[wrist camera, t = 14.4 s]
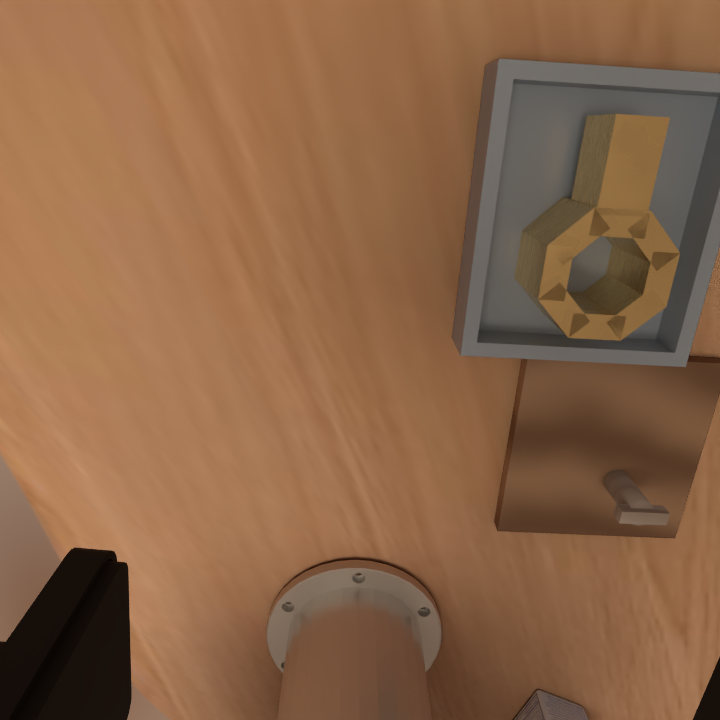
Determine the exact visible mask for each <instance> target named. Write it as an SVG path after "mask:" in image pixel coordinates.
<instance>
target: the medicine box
mask: <svg viewBox="0 0 720 720" xmlns="http://www.w3.org/2000/svg"><path fill="white" fill-rule="evenodd" d="M514 720H588V718H587V716H586V713H585V711H584V709H583V707H581V706H580V705H578V704H575V703H573V702H570V701H568V700H565V699H563V698H560V697H557V696H555V695H552V694H549V693H547V692H544V691H541V690H537V691H536V692H535V694H534V695H533V696H532V697H531V699H530V700H529V701H528V703H527V704H526V705H525V706H524V708H523V709H522V710H521V711H520V713H519V714H518V715H517V716H516V718H515V719H514Z"/></svg>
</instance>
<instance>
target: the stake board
mask: <svg viewBox="0 0 720 720" xmlns="http://www.w3.org/2000/svg"><path fill="white" fill-rule="evenodd" d="M719 394H720V358H713V357H694V356H689V357H688V361H687V364H686V367H675V366H656V365H636V364H616V363H597V362H577V361H557V360H538V359H522V362H521V368H520V373H519V379H518V385H517V391H516V397H515V403H514V409H513V415H512V420H511V426H510V432H509V438H508V444H507V450H506V456H505V462H504V467H503V473H502V479H501V485H500V491H499V497H498V503H497V509H496V514H495V520H494V522H495V525H496V528H497V531H509V532H533V533H558V534H582V535H606V536H630V537H654V538H675V537H676V534H677V530H678V527H679V524H680V521H681V517H682V514H683V511H684V508H685V505H686V501H687V498H688V495H689V492H690V488H691V485H692V482H693V479H694V475H695V472H696V469H697V466H698V462H699V459H700V456H701V453H702V449H703V446H704V443H705V440H706V436H707V433H708V430H709V427H710V424H711V420H712V417H713V414H714V411H715V407H716V404H717V401H718V398H719Z"/></svg>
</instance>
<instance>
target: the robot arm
mask: <svg viewBox="0 0 720 720" xmlns="http://www.w3.org/2000/svg"><path fill="white" fill-rule="evenodd" d="M441 642H442V627H441V621H440V616H439V612H438V609H437V606H436V604H435V601H434V600H433V598H432V597H431V595H430V594H429V592H428V591H427V589H426V588H424V587H423V586H422V585H421V584H420V583H419V582H418V581H417V580H416V579H415V578H413V577H411V576H410V575H408V574H407V573H405V572H404V571H402V570H399V569H397V568H394V567H392V566H390V565H386V564H382V563H378V562H374V561H365V560H345V561H336V562H332V563H327V564H323V565H320V566H317V567H315V568H313V569H310V570H308V571H306V572H304V573H302V574H301V575H299V576H298V577H296V578H295V579H293V580H292V581H291V582H290V583H289V584H288V585H287V586H286V587H285V588H283V589H282V591H281V592H280V594H279V595H278V596H277V598H276V599H275V601H274V603H273V605H272V608H271V611H270V613H269V619H268V624H267V645H268V649H269V653H270V656H271V657H272V659H273V661H274V663H275V665H276V666H277V668H278V669H279V670H280V671H281V672H282V674H283V678H282V686H281V693H280V701H279V709H278V717H277V720H432V715H431V708H430V700H429V693H428V686H427V678H426V672H427V671H428V669H429V668H430V667H431V666H432V664H433V662H434V661H435V659H436V657H437V655H438V653H439V649H440V645H441ZM130 704H131V658H130V620H129V581H128V565H127V563H125V562H117V557H116V554H115V552H114V551H108V550H96V549H85V548H73V549H71V550H70V551H69V553H68V554H67V555H66V556H65V558H64V559H63V561H62V562H61V564H60V565H59V567H58V568H57V569H56V571H55V572H54V574H53V575H52V576H51V578H50V579H49V581H48V582H47V584H46V585H45V586H44V588H43V589H42V591H41V592H40V594H39V595H38V597H37V598H36V599H35V601H34V602H33V604H32V605H31V607H30V608H29V609H28V611H27V612H26V614H25V615H24V617H23V618H22V620H21V621H20V622H19V624H18V625H17V627H16V628H15V630H14V631H13V632H12V634H11V635H10V637H9V638H8V640H7V641H6V642H0V720H127V717H128V714H129V709H130ZM693 720H720V657H719V660H718V662H717V664H716V667H715V669H714V671H713V674H712V676H711V678H710V681H709V683H708V685H707V688H706V690H705V692H704V695H703V697H702V699H701V702H700V704H699V706H698V709H697V711H696V713H695V716H694V718H693Z"/></svg>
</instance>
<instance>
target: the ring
mask: <svg viewBox="0 0 720 720" xmlns="http://www.w3.org/2000/svg"><path fill="white" fill-rule="evenodd" d="M669 120H670V117H657V116H642V115H627V114H606V115H592V116H587V117H586V122H585V127H584V133H583V138H582V144H581V149H580V154H579V160H578V165H577V171H576V176H575V181H574V187H573V192H572V197H571V198H567V197H562V198H561V199H560V200H558V201H557V202H556V203H555V204H554V205H552V206H551V207H550V208H549V209H547V210H546V211H545V212H544V213H543V214H541V215H540V216H539V217H538V218H537V219H535V220H534V221H533V222H532V223H531V224H529V225H528V226H527V227H526V228H525V229H523V230H522V234H521V240H520V246H519V252H518V259H517V265H516V271H515V278H514V279H515V280H516V281H517V282H518V283H519V285H520V286H521V287H522V288H523V290H524V291H525V292H526V293H527V295H528V296H529V297H530V298H531V300H532V301H533V302H534V303H535V305H536V306H537V307H538V308H539V310H540V311H541V312H542V313H543V314H544V315H545V316H546V317H547V318H548V319H549V320H550V321H551V322H552V323H553V324H554V325H555V326H557V327H558V328H559V329H560V330H561V331H562V332H563V333H564V334H565V335H566V336H567V337H568V338H579V339H598V340H616V341H621V340H622V339H624V338H625V337H626V336H628V335H629V334H630V333H632V332H633V331H634V330H636V329H637V328H638V327H640V326H641V325H643V324H644V323H645V322H647V321H648V320H649V319H651V318H652V317H653V316H655V315H656V314H657V313H659V312H660V311H662V310H663V309H664V308H666V306H667V303H668V299H669V295H670V291H671V287H672V283H673V279H674V276H675V272H676V268H677V264H678V260H679V256H680V252H679V251H678V249H677V248H676V246H675V245H674V243H673V242H672V241H671V239H670V238H669V236H668V235H667V233H666V232H665V230H664V229H663V227H662V226H661V224H660V223H659V222H658V220H657V219H656V217H655V216H654V214H653V213H652V211H650V210H649V206H650V202H651V198H652V193H653V189H654V185H655V180H656V176H657V172H658V168H659V163H660V159H661V155H662V150H663V146H664V142H665V138H666V133H667V129H668V125H669ZM600 236H605V237H606V238H607V240H608V241H609V243H610V244H611V245H612V248H611V253H610V257H609V262H608V267H607V271H606V274H605V275H604V276H603V277H601V278H600V279H599V280H598V281H596V282H595V283H594V284H592V285H591V286H590V287H589V288H587V289H586V290H585V291H583V292H569V291H566V290H567V284H568V279H569V274H570V269H571V264H572V259H573V258H574V257H575V256H576V255H577V254H579V253H580V252H581V251H582V250H584V249H585V248H586V247H587V246H589V245H590V244H591V243H593V242H594V241H595V240H596V239H598V238H599V237H600Z"/></svg>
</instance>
